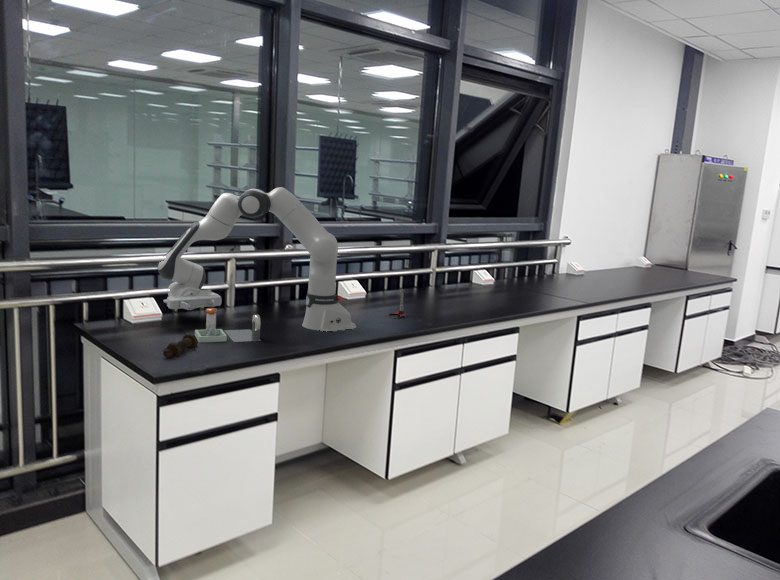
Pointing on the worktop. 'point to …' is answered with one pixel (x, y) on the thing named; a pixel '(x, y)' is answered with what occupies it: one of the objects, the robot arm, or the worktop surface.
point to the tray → (203, 338)
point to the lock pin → (211, 321)
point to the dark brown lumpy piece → (180, 345)
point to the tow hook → (401, 306)
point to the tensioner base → (247, 332)
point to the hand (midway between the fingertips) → (201, 305)
